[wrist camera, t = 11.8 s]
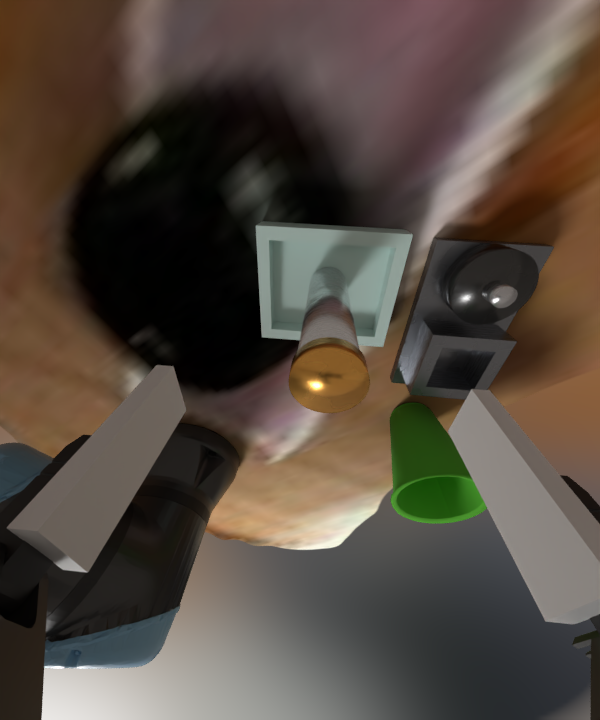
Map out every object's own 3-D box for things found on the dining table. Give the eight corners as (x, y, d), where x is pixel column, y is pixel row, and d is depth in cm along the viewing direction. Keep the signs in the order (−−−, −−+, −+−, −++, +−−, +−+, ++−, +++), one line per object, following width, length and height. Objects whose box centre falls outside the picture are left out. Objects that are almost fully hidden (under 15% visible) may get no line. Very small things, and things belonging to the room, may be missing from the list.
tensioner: (390, 376, 30) (399, 407, 26) (433, 237, 21) (458, 250, 17) (468, 383, 30) (491, 416, 25) (545, 244, 21) (598, 259, 17)
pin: (306, 303, 25) (288, 409, 13) (308, 262, 23) (289, 347, 11) (345, 306, 25) (361, 416, 13) (351, 265, 22) (377, 354, 11)
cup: (434, 379, 30) (480, 464, 21) (456, 425, 34) (503, 514, 25) (362, 405, 33) (375, 489, 24) (390, 445, 37) (410, 529, 28)
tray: (266, 325, 28) (261, 337, 26) (262, 221, 22) (255, 225, 20) (378, 334, 27) (382, 346, 25) (404, 229, 21) (413, 234, 19)
